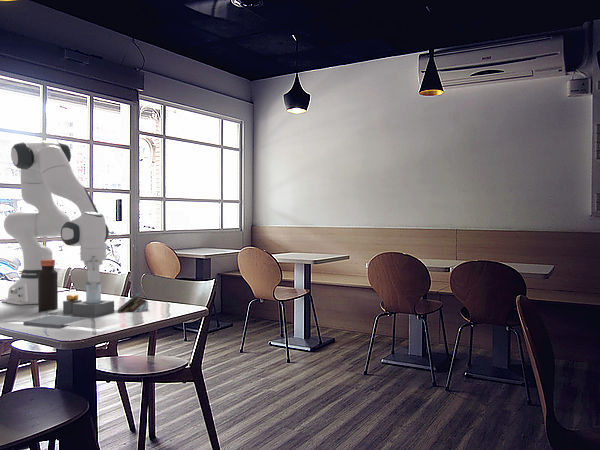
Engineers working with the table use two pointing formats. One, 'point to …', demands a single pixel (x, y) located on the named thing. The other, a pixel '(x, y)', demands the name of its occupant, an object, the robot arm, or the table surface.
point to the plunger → (72, 297)
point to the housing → (86, 309)
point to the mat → (52, 321)
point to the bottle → (47, 286)
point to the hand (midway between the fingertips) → (93, 292)
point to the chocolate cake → (134, 305)
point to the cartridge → (93, 297)
